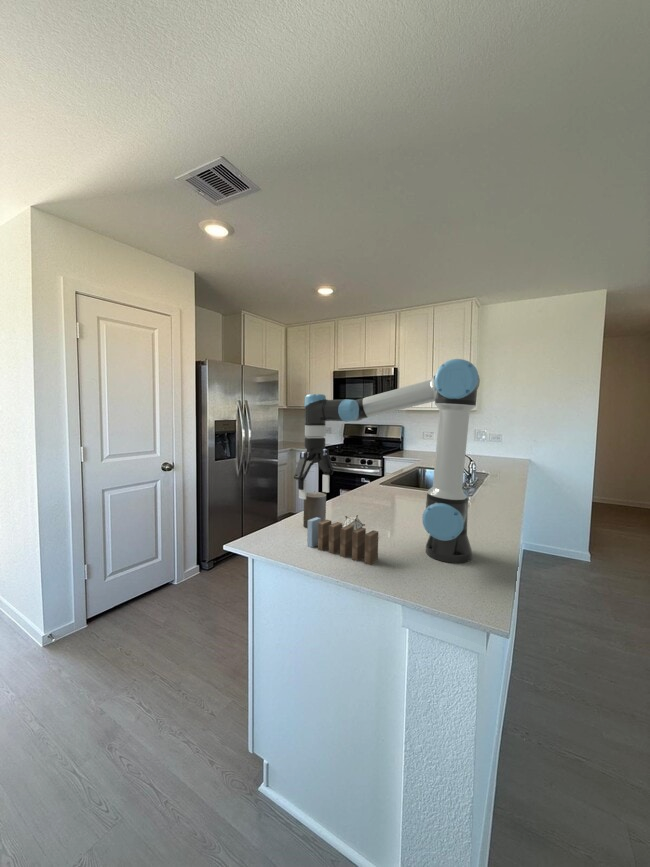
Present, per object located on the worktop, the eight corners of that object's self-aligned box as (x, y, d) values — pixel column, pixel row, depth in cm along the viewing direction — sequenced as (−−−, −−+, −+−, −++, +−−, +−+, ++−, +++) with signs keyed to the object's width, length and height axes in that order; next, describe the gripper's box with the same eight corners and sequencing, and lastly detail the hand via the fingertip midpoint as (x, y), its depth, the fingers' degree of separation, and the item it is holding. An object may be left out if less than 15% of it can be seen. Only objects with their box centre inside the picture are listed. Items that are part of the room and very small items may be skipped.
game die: (356, 546, 141) (363, 531, 135) (336, 537, 142) (342, 522, 136) (362, 529, 148) (369, 514, 141) (343, 521, 149) (349, 506, 143)
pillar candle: (300, 528, 151) (300, 492, 150) (306, 521, 161) (307, 488, 160) (322, 530, 149) (323, 494, 148) (328, 523, 158) (328, 489, 157)
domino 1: (320, 543, 134) (320, 518, 133) (311, 547, 129) (311, 521, 129) (316, 542, 135) (316, 517, 134) (307, 546, 131) (307, 520, 130)
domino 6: (377, 559, 119) (378, 531, 119) (370, 565, 115) (370, 535, 114) (372, 558, 120) (373, 530, 120) (364, 563, 116) (365, 534, 116)
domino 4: (353, 552, 125) (353, 525, 124) (345, 557, 121) (345, 529, 120) (348, 551, 126) (348, 524, 126) (340, 556, 122) (340, 528, 121)
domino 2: (330, 546, 131) (331, 520, 130) (322, 550, 126) (322, 524, 126) (326, 545, 132) (326, 519, 131) (317, 549, 128) (318, 522, 127)
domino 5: (365, 556, 122) (365, 528, 121) (357, 561, 118) (357, 532, 117) (360, 554, 123) (360, 527, 123) (352, 559, 119) (352, 531, 119)
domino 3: (341, 549, 128) (342, 523, 127) (333, 554, 124) (333, 526, 123) (337, 548, 129) (337, 522, 128) (328, 552, 125) (329, 525, 124)
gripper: (327, 435, 142) (326, 488, 143) (283, 438, 122) (283, 500, 123) (342, 436, 138) (342, 490, 139) (300, 439, 118) (300, 503, 119)
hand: (314, 495), depth 131 cm, fingers open, 13 cm apart
